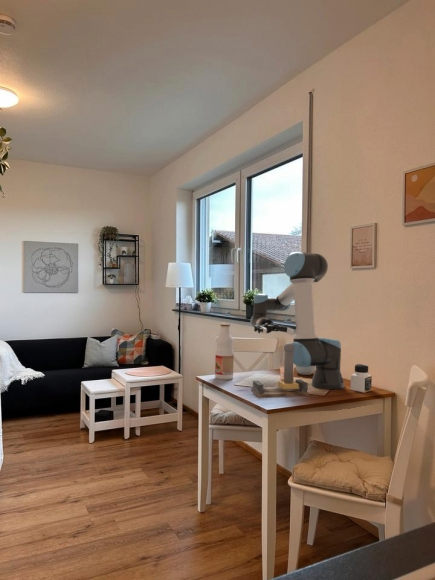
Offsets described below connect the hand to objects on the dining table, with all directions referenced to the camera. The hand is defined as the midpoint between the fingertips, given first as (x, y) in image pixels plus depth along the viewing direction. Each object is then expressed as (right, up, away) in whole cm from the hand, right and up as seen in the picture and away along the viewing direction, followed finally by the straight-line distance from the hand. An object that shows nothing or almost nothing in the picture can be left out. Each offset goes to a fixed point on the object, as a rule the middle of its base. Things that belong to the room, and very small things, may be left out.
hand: (279, 332), depth 205 cm
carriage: (+2, -24, -12) cm, 27 cm away
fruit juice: (-26, -26, +16) cm, 40 cm away
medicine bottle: (+38, -27, -4) cm, 47 cm away
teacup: (+19, -26, +33) cm, 46 cm away
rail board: (-2, -26, -13) cm, 29 cm away
